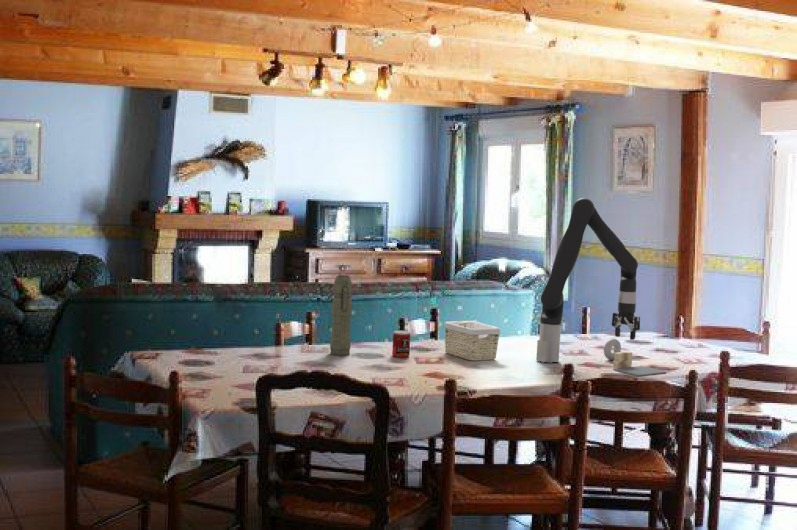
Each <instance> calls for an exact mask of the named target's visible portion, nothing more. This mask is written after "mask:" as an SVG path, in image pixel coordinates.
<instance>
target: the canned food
mask: <svg viewBox="0 0 797 530" xmlns="http://www.w3.org/2000/svg"><path fill="white" fill-rule="evenodd" d="M392 334H393V335H392V352H391V353H392V357H394V358H397V359H407V358H409V357H410V351H411V350H410V347H411V331H409V330H408V331H407V330H394V331H393V333H392Z"/></svg>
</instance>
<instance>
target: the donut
mask: <svg viewBox="0 0 797 530" xmlns="http://www.w3.org/2000/svg"><path fill="white" fill-rule="evenodd" d="M612 348H613V350H612ZM618 352H622V345H621V342H620V341H619V340H618V339H617V338H609V339H608V340H606V342H605V344H604V347H603V355H604V357H605V358H606V359H607V360H609V361H613V360H614V358H615V353H618Z"/></svg>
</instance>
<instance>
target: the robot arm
mask: <svg viewBox="0 0 797 530" xmlns="http://www.w3.org/2000/svg"><path fill="white" fill-rule="evenodd" d="M587 226H588V227H589V228H590V229H591V230H592V232H594V234H595V236H596V237H597V238H598V240H599V242H600V243H601V244H602V246H603V247H604V248H605V249H606V251H607V252H608V253H609V254H610V256H612V257H613V258H614V259H615V261H616V263H617V264H618V265H619V267H620V281H619V292H618V298H617V299H618V303H617V312H613V313H612V319H611V326H612V327H614V330H615V331H614V337H617V338H618V337H619V338H620V336H621V327H622V326H623V325H625V326H627V327H628V328H629V329H630V331H629V332H630V334H629V340H631V341H635V339H636V335H637V334H636V333H637V331H640V330H641V323H640V322H641V317H640V316H635V313H636V305H637V269H638V266H639V263H638V261H637V259H636V258H635V257H634V255H633V254H632V253H630V251H629V250H628V249H627V248H626V246H625V244H623V242H622V240H621V239H620V238H619V237H618V236H617V234H616V233H615V232H614V231H613V230H612V229H611V228H610V226H608V225H607V224H606V222H605V221H604V220H603V219H602V217H601V216H600V214H599V212H598V210H597V209H596V207H595V205H594V203H593V201H592V199H590V198H588V197H581V198H578V199H577V200H576V201H575V202H574V203H573V204H572V209H571V215H570V219H569V223H568V226H567V229H566V230H565V232H564V234H563V236H562V239H561V241H560V244H559V246H558V248H557V250H556V254H555V257H554V261H553V263H552V268H551V272H550V276H549V278H548V280H547V283H546V285H545V288H544V289H543V291H542V293H541V296H540V303H541V304H542V309H541V314H540V324H539V338H538V339H537V341H536V342H537V345H536V360H537V362H540V361H541V362H540V363H544V362H551V363H550V364H553V363H552V362H558V363H559V361H560V350H561V349H560V346H561V332H562V331H561V330H562V319H563V315H564V313H563V312H564V289H565V285H566V282H567V280H568V279H569V276H570V275H571V272H572V271H573V269H574V267H575V264H576V262H577V260H578V257H579V254H580V251H581V248H582V243H583V238H584V235H585V234H584V233H585V231H586V229H587V228H586V227H587ZM536 360H535V361H536Z"/></svg>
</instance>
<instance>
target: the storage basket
mask: <svg viewBox="0 0 797 530" xmlns="http://www.w3.org/2000/svg"><path fill="white" fill-rule="evenodd" d="M443 327H444V330H445V331H444V333H445V334H444V344H445V346H444V348H445V353H446V354H448V355H452V356H454V357H458V358H461V359H463V360H468V361H472V362H473V361H487V360H488V361H490V360H495V359H496V358H497V352H498V346H499V339H500V335H501V329H500V327H497V326H493V325H489V324H486V323H482V322H480V321H476V320H457V321H456V320H455V321H445V323H444V326H443Z"/></svg>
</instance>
